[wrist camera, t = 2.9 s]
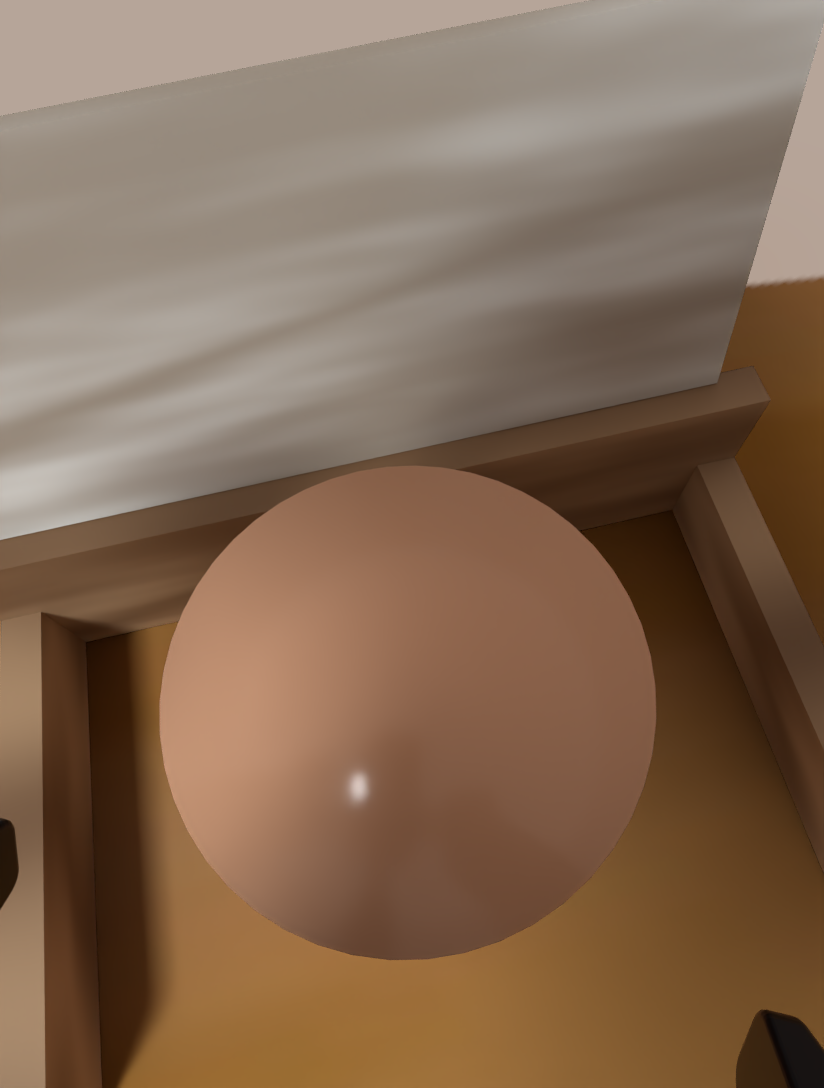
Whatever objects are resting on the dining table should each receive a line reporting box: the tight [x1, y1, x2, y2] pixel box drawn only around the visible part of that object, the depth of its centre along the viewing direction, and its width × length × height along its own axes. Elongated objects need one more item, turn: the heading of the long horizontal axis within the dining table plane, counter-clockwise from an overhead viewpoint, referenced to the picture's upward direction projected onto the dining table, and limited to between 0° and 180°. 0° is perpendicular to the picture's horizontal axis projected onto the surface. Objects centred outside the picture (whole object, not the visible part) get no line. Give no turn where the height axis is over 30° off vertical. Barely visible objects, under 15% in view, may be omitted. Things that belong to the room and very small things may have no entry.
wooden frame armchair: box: [0, 0, 824, 1088], centre depth 14 cm, size 14×19×13 cm
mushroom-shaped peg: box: [160, 466, 656, 960], centre depth 14 cm, size 6×6×11 cm
